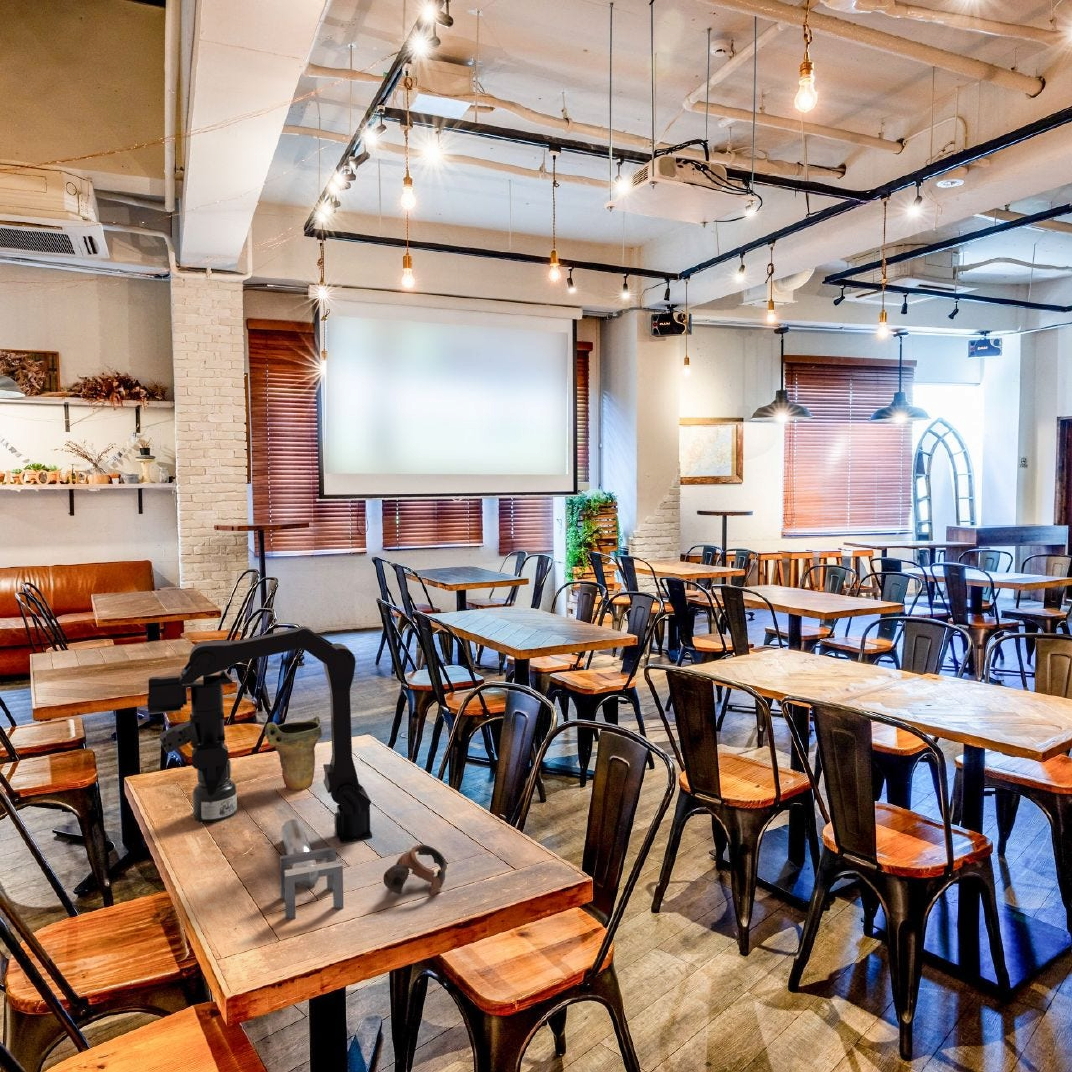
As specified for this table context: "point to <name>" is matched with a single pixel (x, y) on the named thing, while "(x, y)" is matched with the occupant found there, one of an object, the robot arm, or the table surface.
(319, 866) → the arch block
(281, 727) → the pot
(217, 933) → the table surface
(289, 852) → the air tube
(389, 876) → the brown headphones
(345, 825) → the robot arm
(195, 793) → the ink bottle
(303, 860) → the arch block
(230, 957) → the table surface
